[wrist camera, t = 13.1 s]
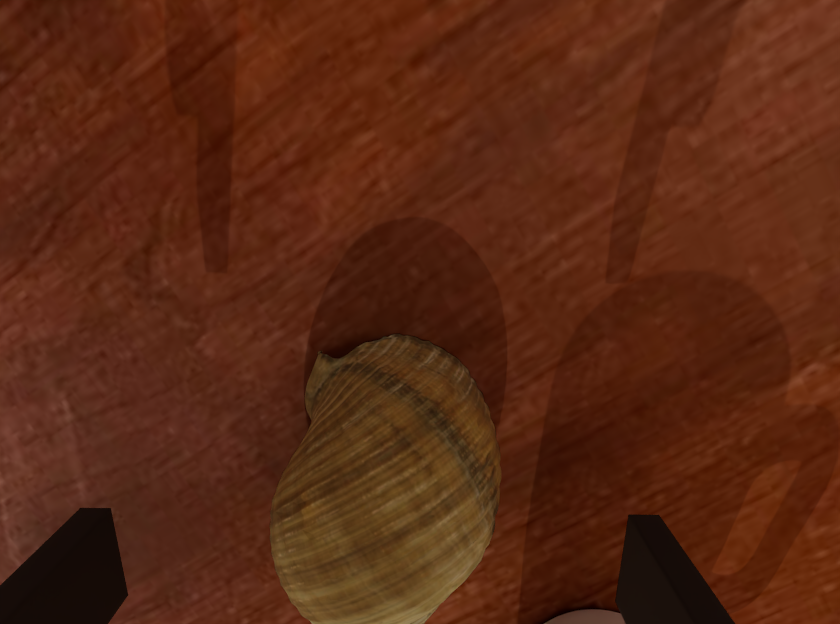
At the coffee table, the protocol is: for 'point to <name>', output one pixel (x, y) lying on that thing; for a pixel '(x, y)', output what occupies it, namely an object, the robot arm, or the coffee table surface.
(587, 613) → the mug
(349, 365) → the seashell
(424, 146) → the coffee table surface
